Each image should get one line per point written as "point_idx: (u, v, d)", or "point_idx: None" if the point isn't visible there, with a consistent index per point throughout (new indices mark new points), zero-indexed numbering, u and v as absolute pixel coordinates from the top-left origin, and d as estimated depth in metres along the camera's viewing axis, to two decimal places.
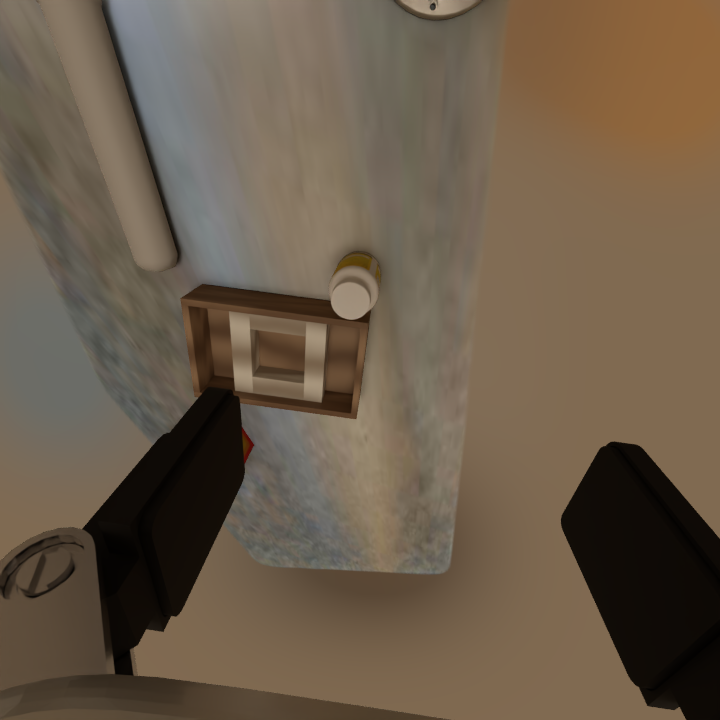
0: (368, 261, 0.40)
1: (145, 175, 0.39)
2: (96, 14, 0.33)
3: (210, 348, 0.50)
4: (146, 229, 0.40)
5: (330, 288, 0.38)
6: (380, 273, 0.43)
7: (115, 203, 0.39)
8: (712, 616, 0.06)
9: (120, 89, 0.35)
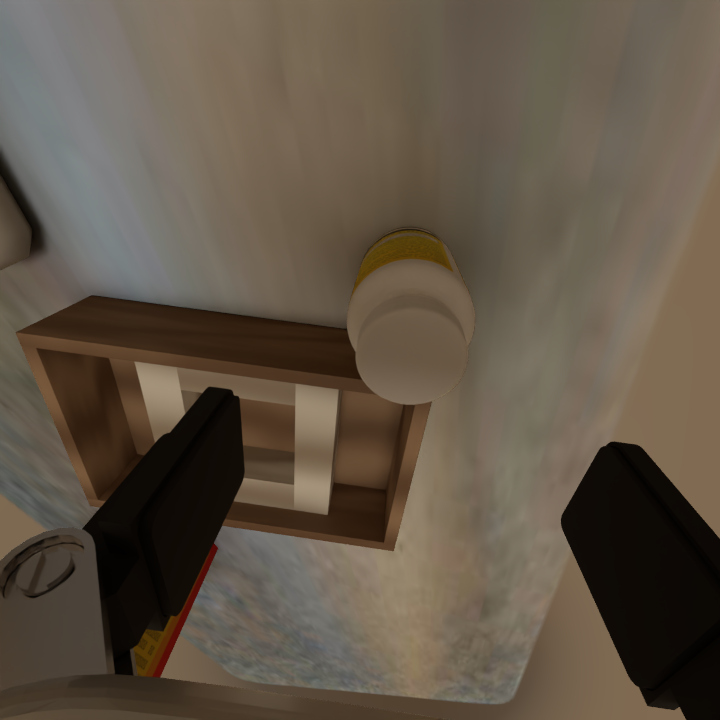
0: (440, 248, 0.17)
1: None
2: None
3: (121, 412, 0.27)
4: None
5: (352, 318, 0.15)
6: None
7: None
8: (712, 616, 0.06)
9: None
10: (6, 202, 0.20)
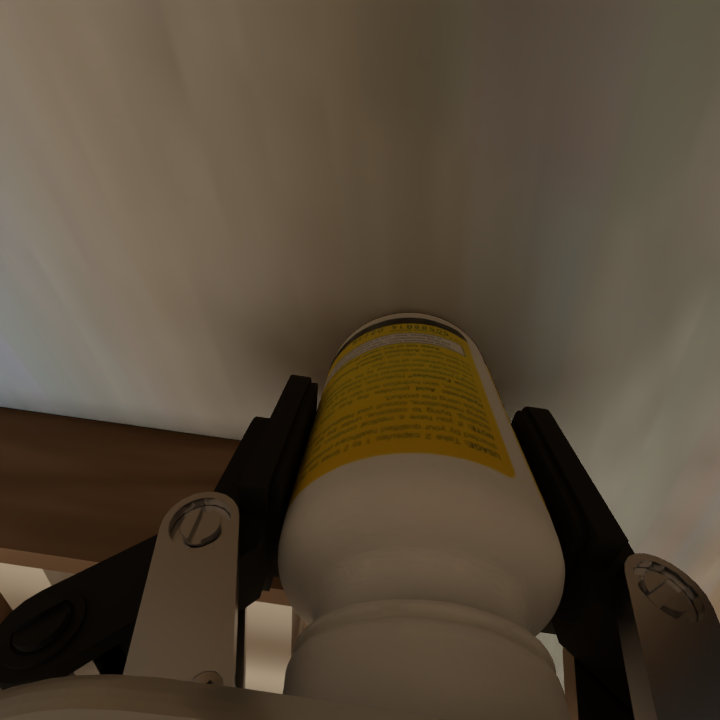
0: (471, 376, 0.09)
1: None
2: None
3: None
4: None
5: (285, 573, 0.07)
6: None
7: None
8: (571, 541, 0.07)
9: None
10: None
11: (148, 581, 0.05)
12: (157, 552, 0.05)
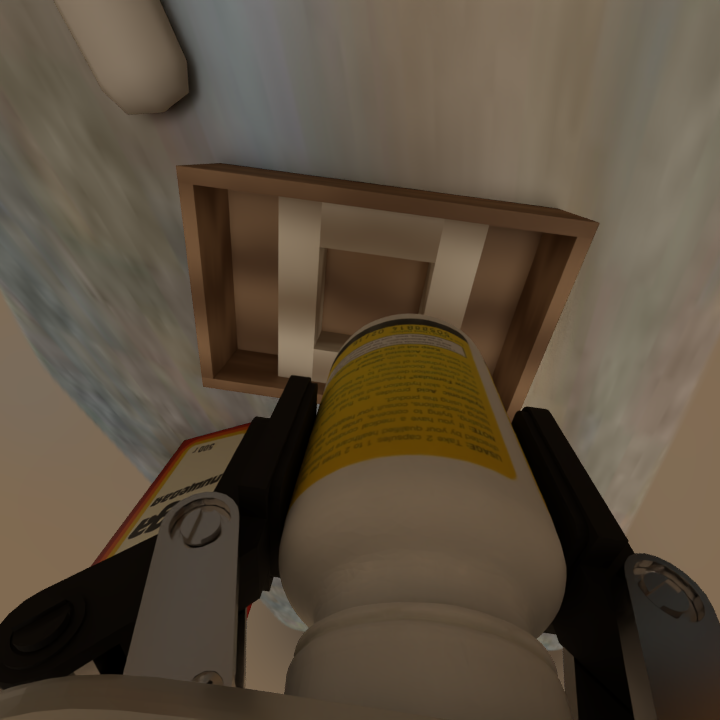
0: (472, 377, 0.09)
1: None
2: None
3: (232, 297, 0.27)
4: None
5: (285, 574, 0.07)
6: None
7: None
8: (572, 541, 0.07)
9: None
10: (169, 25, 0.19)
11: (148, 581, 0.05)
12: (157, 552, 0.05)
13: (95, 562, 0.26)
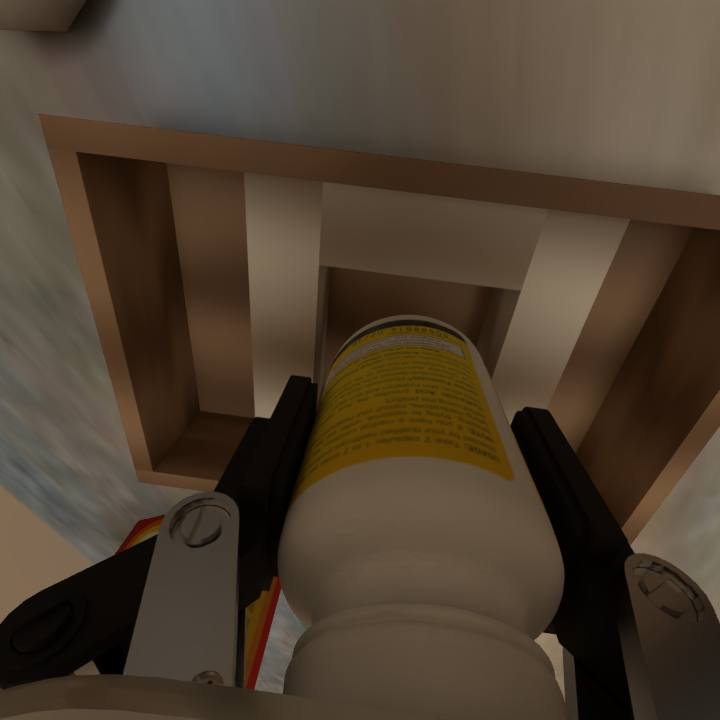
0: (471, 378, 0.09)
1: None
2: None
3: (186, 339, 0.18)
4: None
5: (284, 576, 0.07)
6: None
7: None
8: (571, 541, 0.07)
9: None
10: None
11: (148, 581, 0.05)
12: (157, 552, 0.05)
13: None
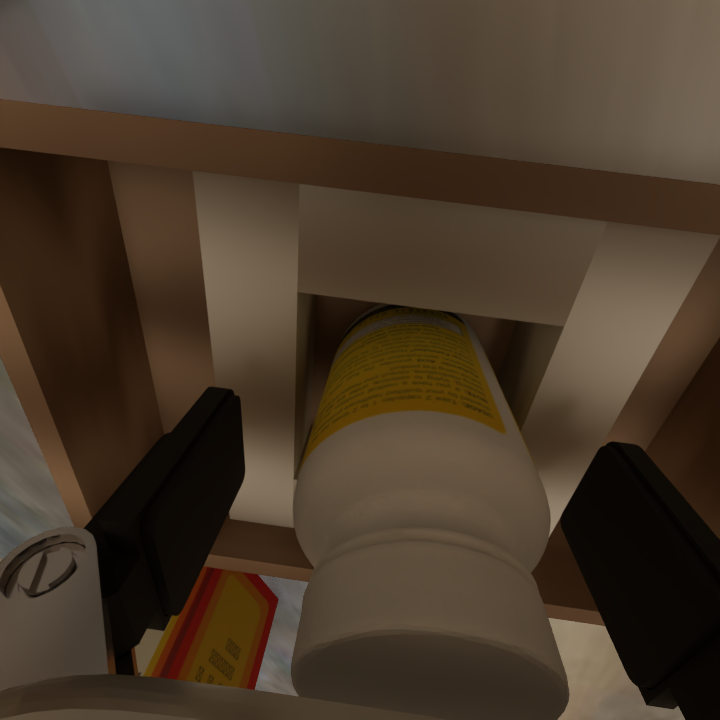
0: (468, 352, 0.10)
1: None
2: None
3: (145, 372, 0.15)
4: None
5: (300, 520, 0.07)
6: None
7: None
8: (710, 615, 0.06)
9: None
10: None
11: None
12: None
13: None
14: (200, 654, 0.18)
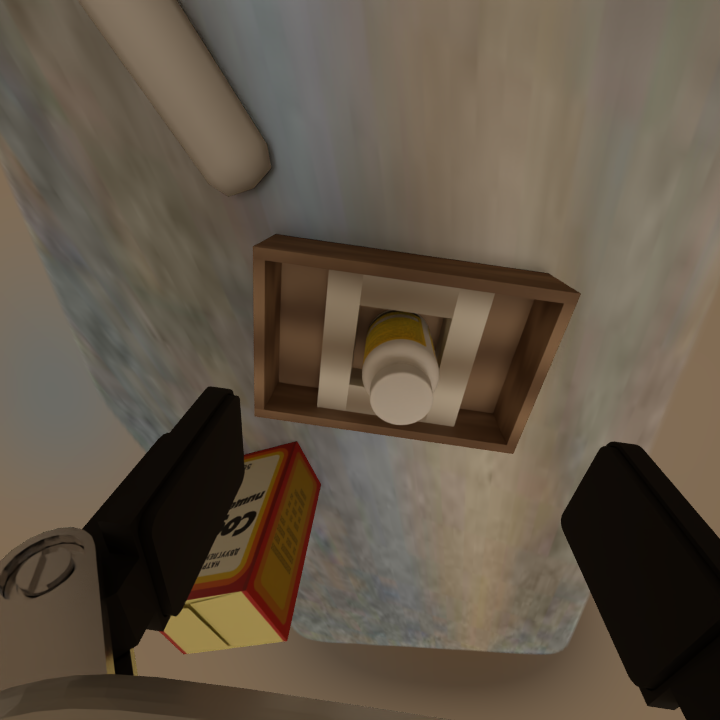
0: (419, 327, 0.27)
1: None
2: None
3: (278, 339, 0.32)
4: (205, 95, 0.22)
5: (366, 372, 0.25)
6: None
7: (141, 68, 0.21)
8: (712, 616, 0.06)
9: None
10: (251, 121, 0.24)
11: None
12: None
13: None
14: (291, 488, 0.35)
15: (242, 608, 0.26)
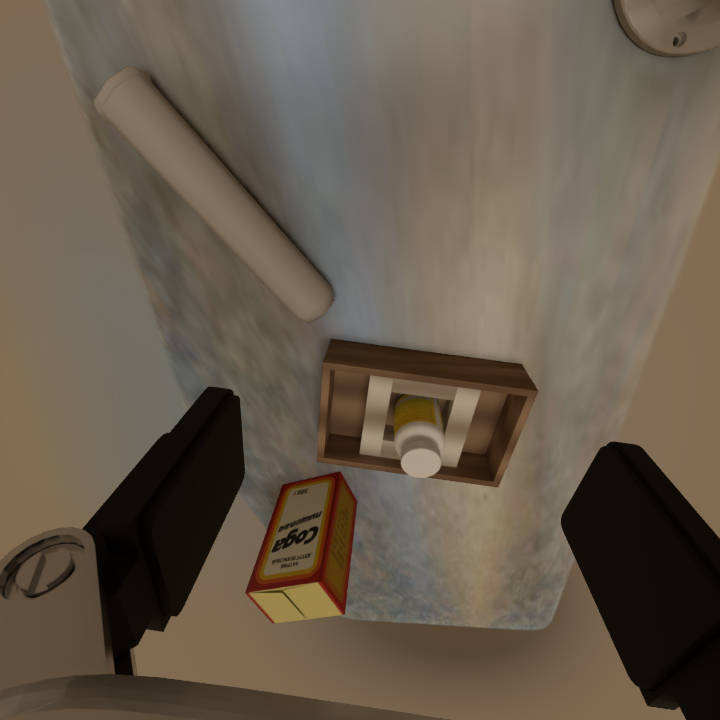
0: (431, 406, 0.40)
1: (265, 220, 0.34)
2: (152, 89, 0.30)
3: (331, 406, 0.45)
4: (294, 274, 0.35)
5: (397, 442, 0.38)
6: None
7: (255, 266, 0.34)
8: (712, 616, 0.06)
9: (204, 149, 0.32)
10: (320, 275, 0.37)
11: None
12: None
13: (255, 566, 0.44)
14: (339, 508, 0.48)
15: (316, 593, 0.40)
